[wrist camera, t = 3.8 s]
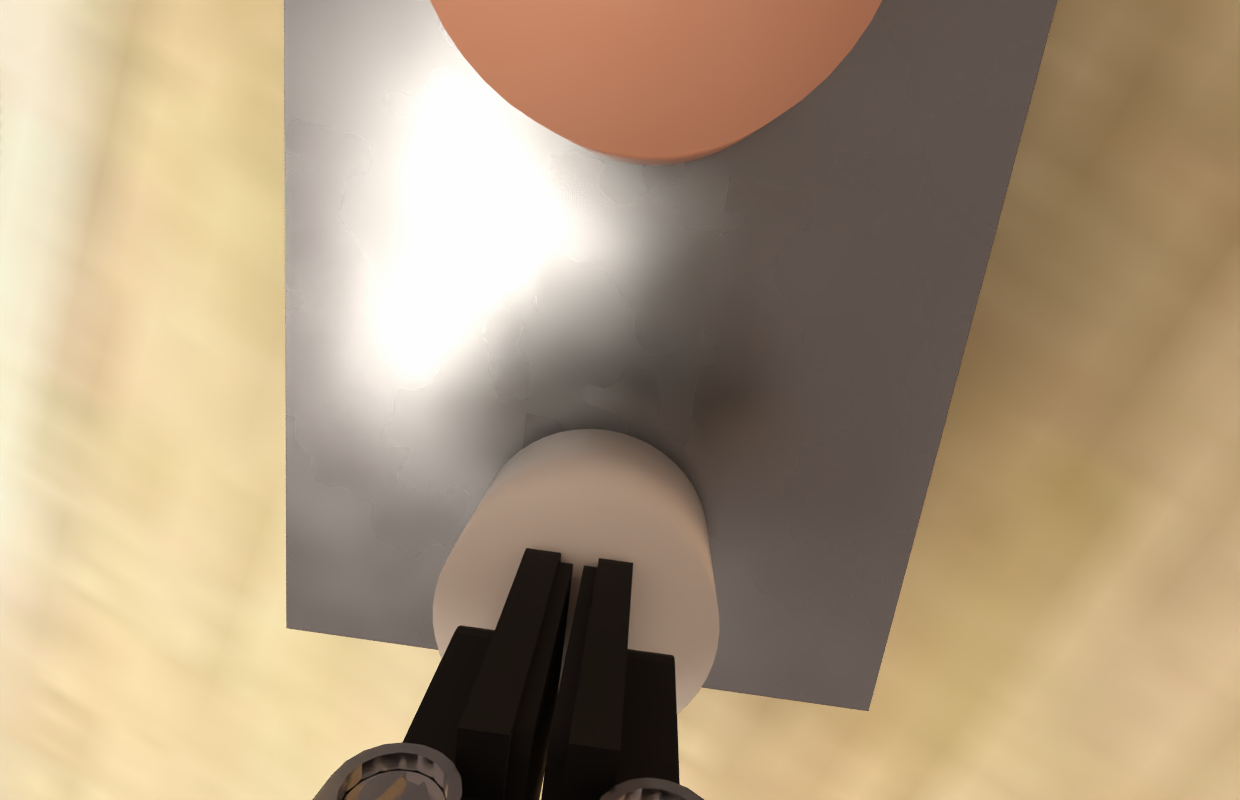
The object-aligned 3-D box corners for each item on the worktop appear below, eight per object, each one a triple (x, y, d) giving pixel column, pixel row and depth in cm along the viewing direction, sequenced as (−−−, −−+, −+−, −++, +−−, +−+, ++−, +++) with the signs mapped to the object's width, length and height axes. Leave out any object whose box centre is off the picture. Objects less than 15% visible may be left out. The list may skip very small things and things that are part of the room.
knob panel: (420, -691, 13) (279, -1208, 8) (1090, -616, 13) (1349, -1102, 8) (377, 521, 20) (286, 628, 15) (817, 583, 20) (868, 711, 15)
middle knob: (555, -92, 13) (412, -483, 6) (794, -63, 13) (982, -416, 6) (533, 159, 14) (391, 122, 7) (752, 187, 14) (857, 182, 7)
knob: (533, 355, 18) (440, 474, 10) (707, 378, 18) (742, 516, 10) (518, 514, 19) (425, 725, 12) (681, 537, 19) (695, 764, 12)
